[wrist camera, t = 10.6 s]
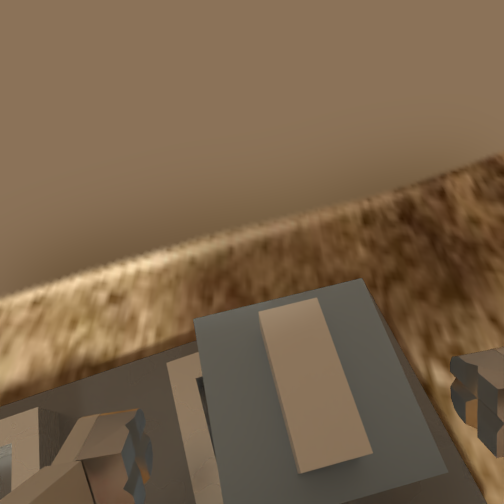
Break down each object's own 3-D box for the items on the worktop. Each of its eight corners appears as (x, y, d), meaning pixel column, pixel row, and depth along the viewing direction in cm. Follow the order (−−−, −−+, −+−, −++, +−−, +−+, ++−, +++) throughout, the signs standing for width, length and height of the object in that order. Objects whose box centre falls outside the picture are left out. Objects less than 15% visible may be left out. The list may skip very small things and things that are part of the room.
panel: (361, 290, 19) (371, 267, 17) (484, 516, 14) (520, 523, 12) (-165, 469, 16) (-230, 468, 14) (-249, 839, 11) (-368, 921, 9)
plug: (321, 371, 16) (371, 256, 8) (355, 473, 14) (474, 472, 6) (232, 394, 16) (183, 301, 7) (254, 502, 14) (221, 545, 5)
